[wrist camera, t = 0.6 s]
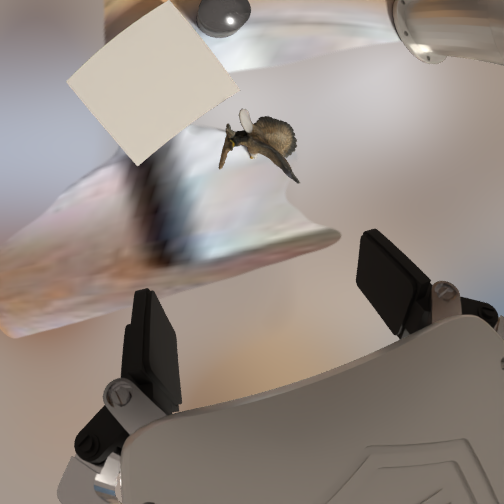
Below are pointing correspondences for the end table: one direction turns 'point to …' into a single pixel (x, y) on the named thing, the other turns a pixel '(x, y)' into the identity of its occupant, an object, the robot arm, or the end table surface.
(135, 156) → the white slab
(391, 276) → the robot arm
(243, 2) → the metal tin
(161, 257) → the end table surface
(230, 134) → the eagle figurine
